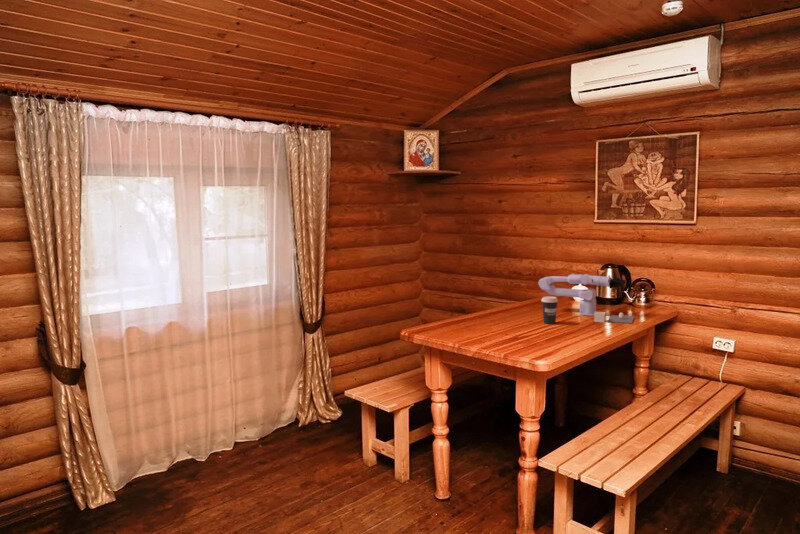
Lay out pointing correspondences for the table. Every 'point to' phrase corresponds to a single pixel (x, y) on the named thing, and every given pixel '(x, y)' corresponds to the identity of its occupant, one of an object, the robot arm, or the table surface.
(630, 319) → the duct board
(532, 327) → the table surface
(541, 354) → the table surface
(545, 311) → the coffee cup
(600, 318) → the collar
